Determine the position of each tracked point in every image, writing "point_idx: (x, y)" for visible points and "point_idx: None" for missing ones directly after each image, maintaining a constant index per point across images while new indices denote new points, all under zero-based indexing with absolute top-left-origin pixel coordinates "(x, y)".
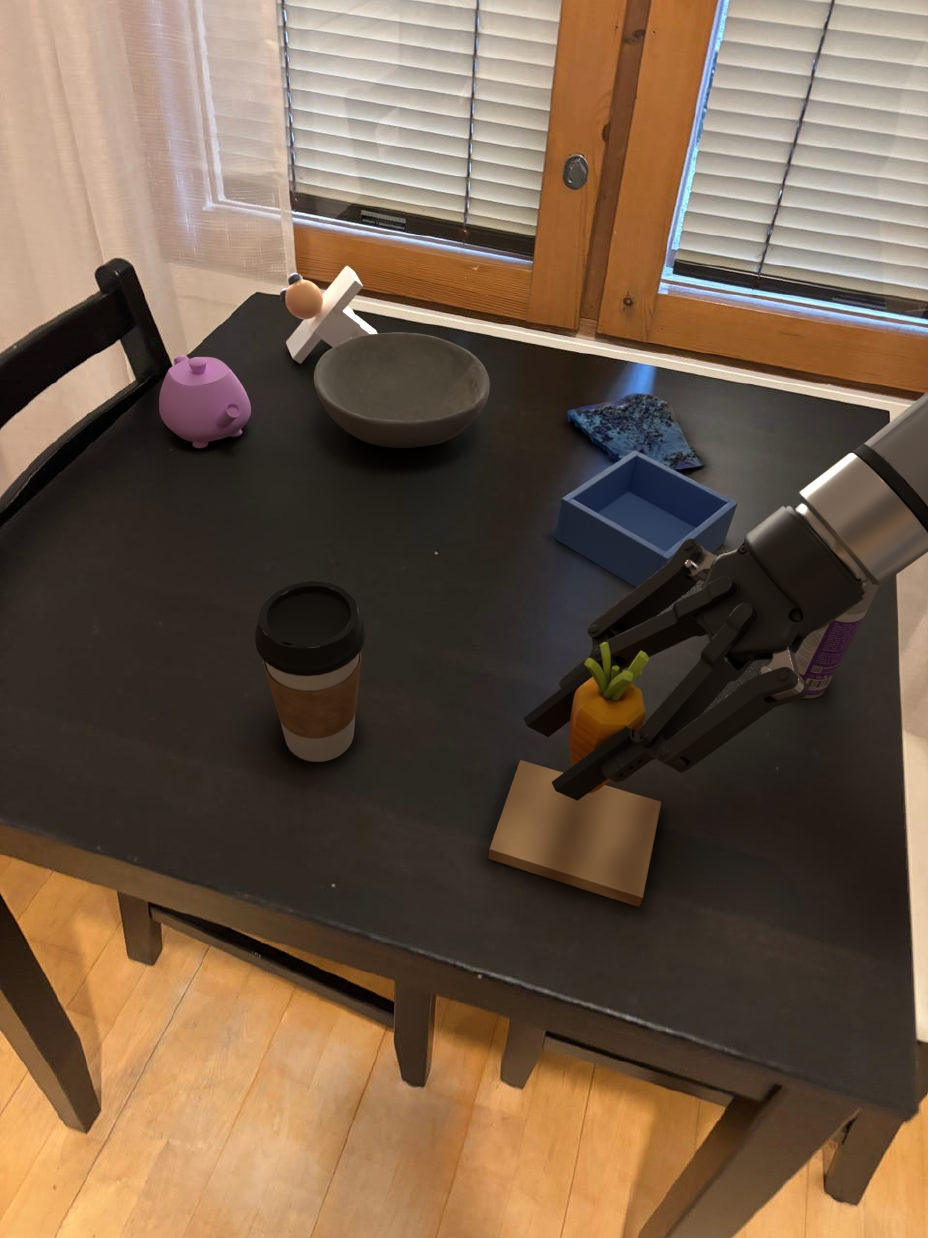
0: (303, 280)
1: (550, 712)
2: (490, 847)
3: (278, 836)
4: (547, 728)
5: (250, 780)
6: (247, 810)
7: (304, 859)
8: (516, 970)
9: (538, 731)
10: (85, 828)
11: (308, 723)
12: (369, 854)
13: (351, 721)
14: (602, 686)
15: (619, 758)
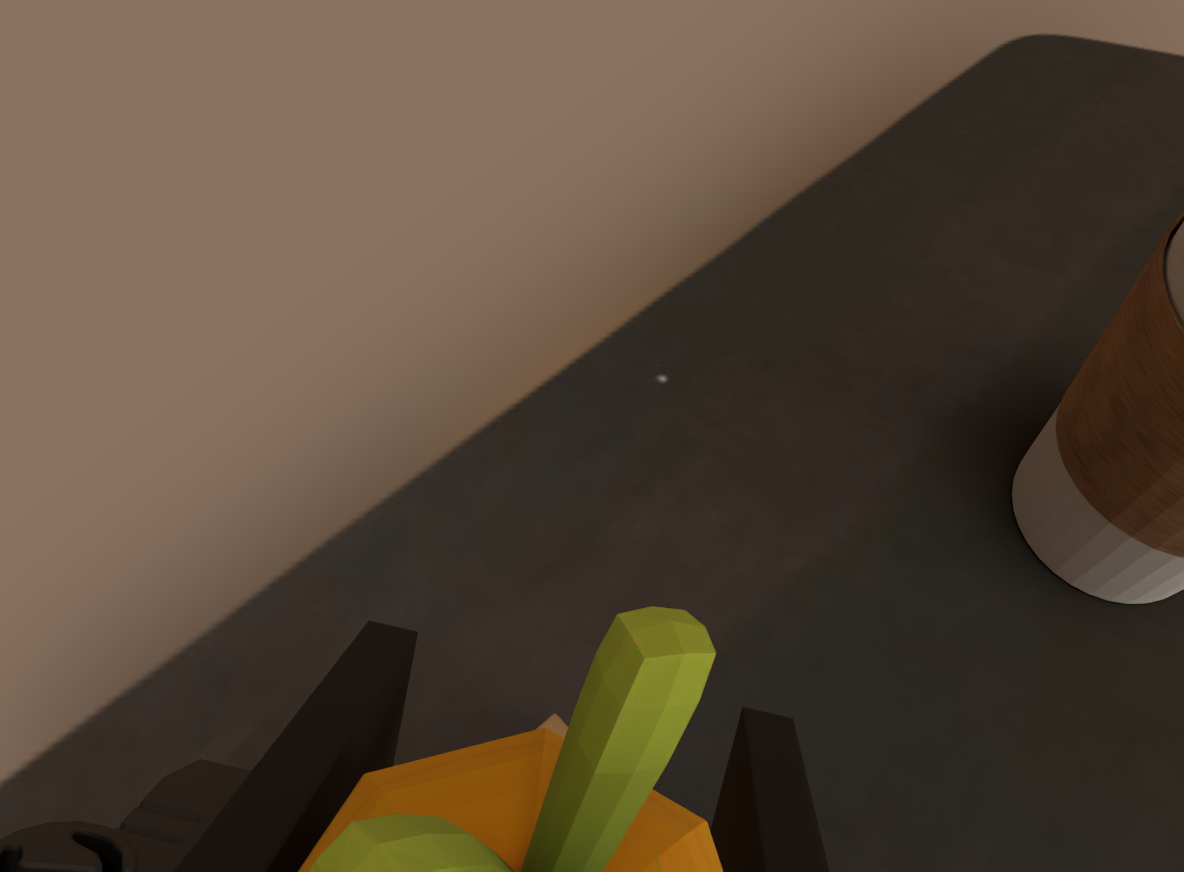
0: None
1: (744, 806)
2: (558, 718)
3: (829, 334)
4: (717, 838)
5: (998, 339)
6: (918, 309)
7: (751, 355)
8: (233, 626)
9: (721, 792)
10: (964, 94)
11: (1091, 352)
12: (704, 473)
13: (1102, 521)
14: (537, 831)
15: (182, 842)
